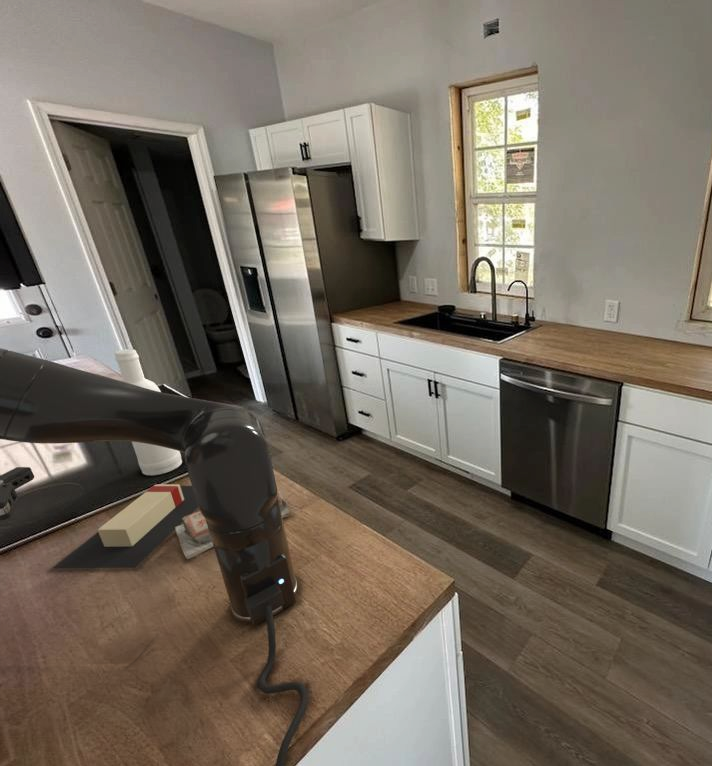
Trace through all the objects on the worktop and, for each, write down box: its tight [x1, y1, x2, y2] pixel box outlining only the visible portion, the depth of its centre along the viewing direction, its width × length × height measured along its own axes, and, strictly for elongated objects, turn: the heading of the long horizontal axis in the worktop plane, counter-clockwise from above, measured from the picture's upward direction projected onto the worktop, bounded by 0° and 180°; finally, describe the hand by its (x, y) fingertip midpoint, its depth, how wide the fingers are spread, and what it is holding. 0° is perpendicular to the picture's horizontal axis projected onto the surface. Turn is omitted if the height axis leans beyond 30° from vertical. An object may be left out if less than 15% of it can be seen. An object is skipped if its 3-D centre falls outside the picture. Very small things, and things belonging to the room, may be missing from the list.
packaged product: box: [174, 489, 292, 560], centre depth 83 cm, size 18×5×10 cm
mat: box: [52, 485, 199, 569], centre depth 83 cm, size 24×14×1 cm, turn 2°
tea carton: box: [97, 483, 184, 547], centre depth 82 cm, size 4×5×14 cm
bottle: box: [113, 348, 183, 476], centre depth 96 cm, size 8×8×30 cm
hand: (27, 472), depth 61 cm, fingers closed
